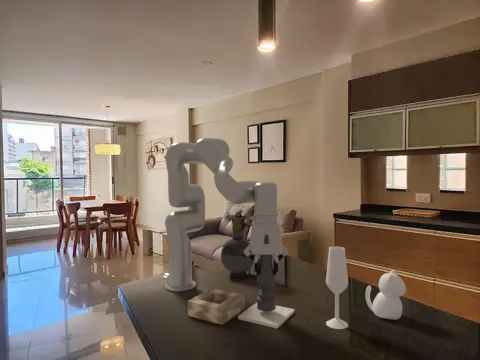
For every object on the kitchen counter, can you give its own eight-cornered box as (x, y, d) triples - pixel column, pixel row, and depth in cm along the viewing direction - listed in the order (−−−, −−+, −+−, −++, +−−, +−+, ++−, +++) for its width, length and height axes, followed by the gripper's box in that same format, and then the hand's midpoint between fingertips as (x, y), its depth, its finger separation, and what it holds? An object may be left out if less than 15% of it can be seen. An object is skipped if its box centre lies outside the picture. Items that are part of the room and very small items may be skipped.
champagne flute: (323, 319, 113) (323, 245, 112) (344, 319, 112) (344, 245, 112) (328, 329, 106) (328, 250, 105) (350, 329, 106) (350, 250, 105)
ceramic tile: (237, 319, 114) (237, 316, 114) (257, 304, 126) (257, 301, 126) (277, 328, 107) (277, 325, 106) (294, 312, 119) (294, 309, 119)
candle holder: (274, 312, 112) (274, 234, 111) (255, 310, 114) (255, 234, 113) (276, 304, 118) (276, 231, 118) (258, 303, 120) (258, 230, 119)
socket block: (187, 315, 117) (187, 300, 117) (211, 301, 129) (211, 288, 129) (222, 324, 110) (222, 309, 109) (244, 309, 122) (244, 294, 121)
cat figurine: (403, 325, 108) (404, 277, 107) (361, 316, 115) (362, 271, 114) (407, 315, 116) (408, 270, 115) (367, 306, 122) (368, 264, 122)
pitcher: (229, 270, 168) (228, 208, 167) (265, 275, 160) (265, 210, 159) (217, 276, 159) (216, 210, 158) (255, 282, 150) (255, 212, 149)
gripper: (239, 221, 111) (240, 277, 112) (293, 221, 111) (293, 277, 112) (240, 218, 119) (240, 270, 120) (290, 217, 119) (290, 270, 119)
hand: (266, 273), depth 116 cm, fingers closed on candle holder, 5 cm apart
